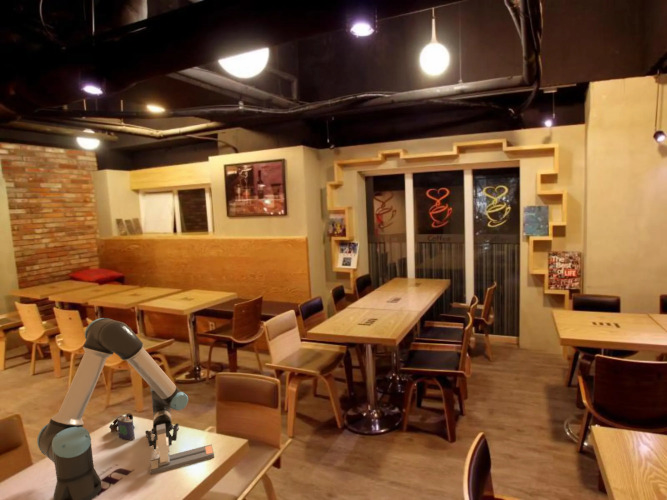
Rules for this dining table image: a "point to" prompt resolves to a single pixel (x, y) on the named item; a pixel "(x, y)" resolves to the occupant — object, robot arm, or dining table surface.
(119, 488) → the dining table surface
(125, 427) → the flask
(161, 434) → the lever
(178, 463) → the switch board
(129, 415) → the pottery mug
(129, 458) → the dining table surface
